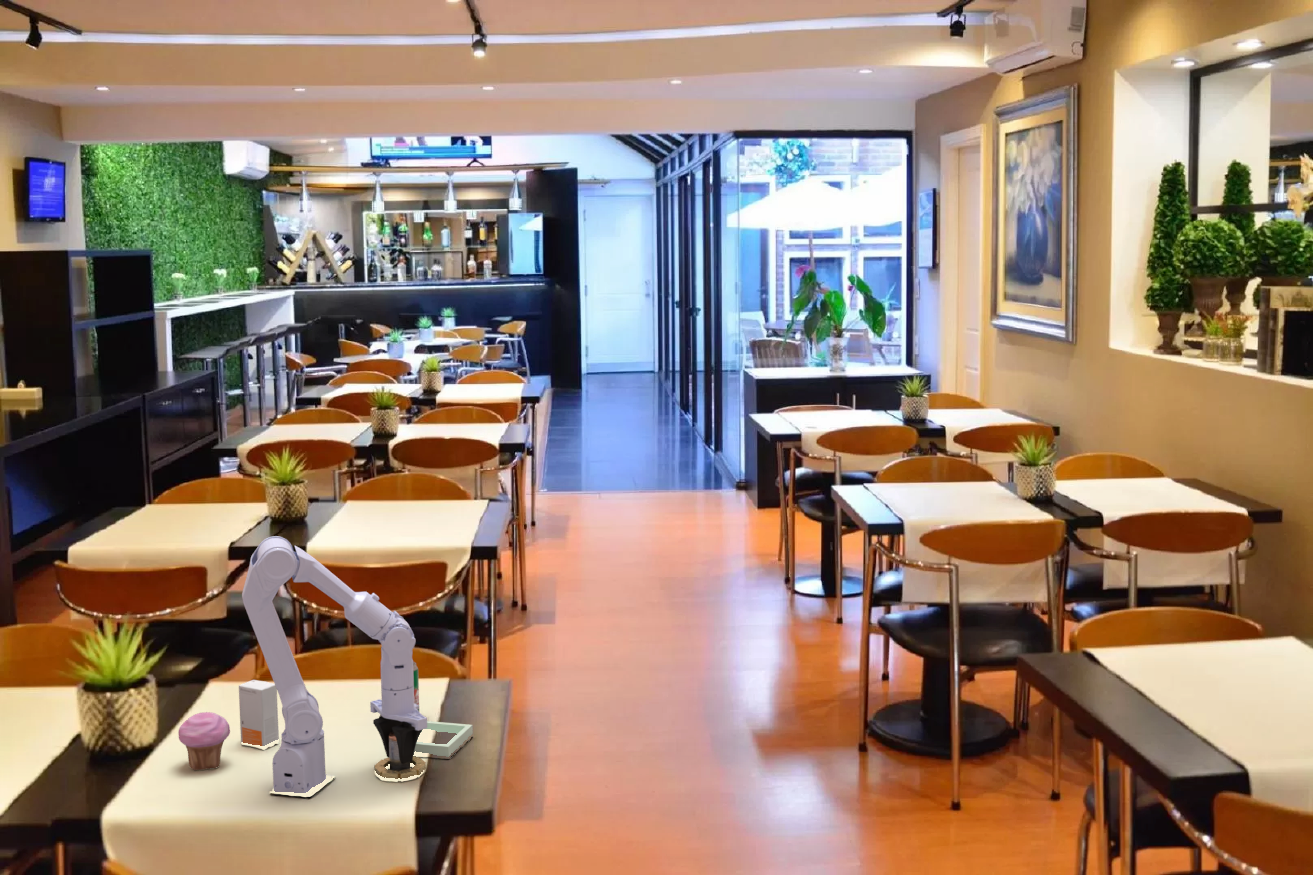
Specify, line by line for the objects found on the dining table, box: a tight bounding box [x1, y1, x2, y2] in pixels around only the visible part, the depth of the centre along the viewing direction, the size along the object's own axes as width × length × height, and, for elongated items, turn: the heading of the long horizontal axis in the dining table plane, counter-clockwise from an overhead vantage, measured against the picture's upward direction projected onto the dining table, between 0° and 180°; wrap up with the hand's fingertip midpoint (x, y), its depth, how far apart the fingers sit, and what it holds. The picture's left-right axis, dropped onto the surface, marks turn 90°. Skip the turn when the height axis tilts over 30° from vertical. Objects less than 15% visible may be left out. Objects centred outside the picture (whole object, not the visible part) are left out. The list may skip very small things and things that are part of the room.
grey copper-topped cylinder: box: [389, 732, 411, 771], centre depth 239 cm, size 4×4×7 cm
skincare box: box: [238, 679, 280, 746], centre depth 253 cm, size 6×4×12 cm
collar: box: [373, 756, 427, 779], centre depth 240 cm, size 9×9×2 cm
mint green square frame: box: [414, 720, 474, 757], centre depth 253 cm, size 12×12×2 cm
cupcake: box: [177, 711, 231, 771], centre depth 243 cm, size 9×9×10 cm
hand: (399, 758), depth 239 cm, fingers closed on grey copper-topped cylinder, 4 cm apart
